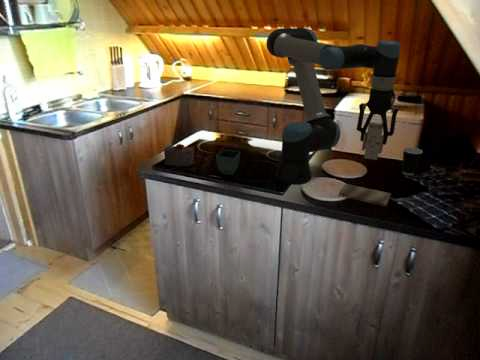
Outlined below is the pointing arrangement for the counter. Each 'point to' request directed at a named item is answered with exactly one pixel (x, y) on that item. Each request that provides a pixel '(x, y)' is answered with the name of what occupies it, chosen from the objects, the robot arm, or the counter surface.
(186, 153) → the food item
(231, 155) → the flower pot
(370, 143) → the ink cartridge box
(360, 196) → the birch board
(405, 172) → the dixie cup
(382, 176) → the counter surface
